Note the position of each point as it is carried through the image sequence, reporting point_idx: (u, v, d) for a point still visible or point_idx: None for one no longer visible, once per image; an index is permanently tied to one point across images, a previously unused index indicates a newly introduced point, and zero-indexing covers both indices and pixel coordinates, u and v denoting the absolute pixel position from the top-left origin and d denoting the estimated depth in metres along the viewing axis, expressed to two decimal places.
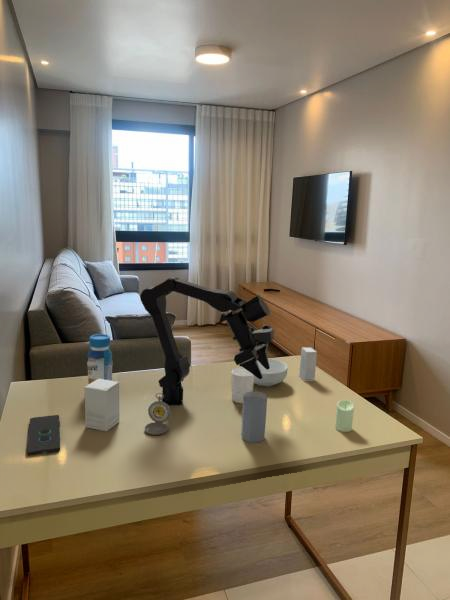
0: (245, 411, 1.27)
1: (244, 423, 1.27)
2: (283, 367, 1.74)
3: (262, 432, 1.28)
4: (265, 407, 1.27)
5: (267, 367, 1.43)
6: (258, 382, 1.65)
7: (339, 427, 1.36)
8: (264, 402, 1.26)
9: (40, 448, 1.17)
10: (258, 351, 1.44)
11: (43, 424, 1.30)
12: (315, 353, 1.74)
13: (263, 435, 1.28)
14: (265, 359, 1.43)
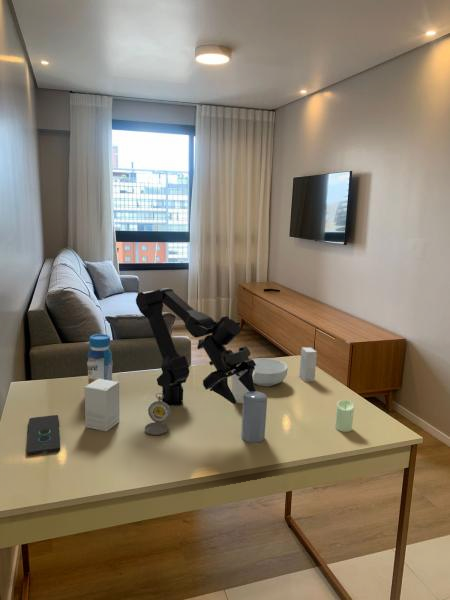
0: (245, 411, 1.27)
1: (244, 423, 1.27)
2: (283, 367, 1.74)
3: (262, 432, 1.28)
4: (265, 407, 1.27)
5: None
6: (258, 382, 1.65)
7: (339, 427, 1.36)
8: (264, 402, 1.26)
9: (40, 448, 1.17)
10: (243, 376, 1.36)
11: (43, 424, 1.30)
12: (315, 353, 1.74)
13: (263, 435, 1.28)
14: (250, 384, 1.34)
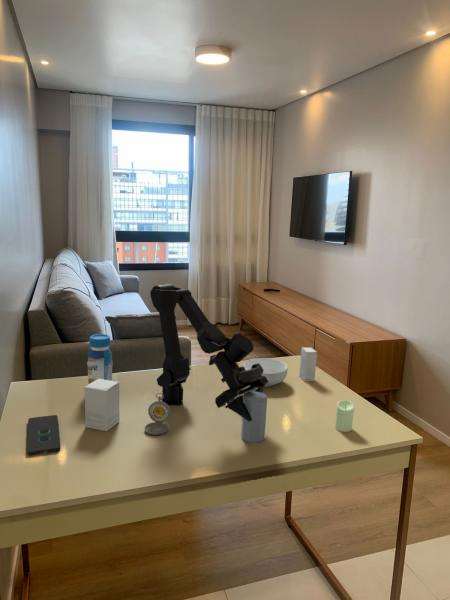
0: None
1: (244, 423, 1.27)
2: (283, 367, 1.74)
3: (262, 432, 1.28)
4: (265, 407, 1.27)
5: None
6: None
7: (339, 427, 1.36)
8: (264, 402, 1.26)
9: (40, 447, 1.17)
10: None
11: (42, 424, 1.30)
12: (315, 353, 1.74)
13: (263, 435, 1.28)
14: None
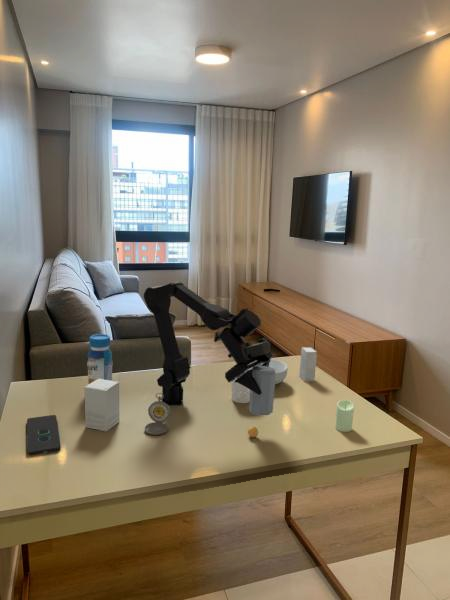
0: None
1: (253, 397, 1.29)
2: (283, 367, 1.74)
3: (271, 405, 1.30)
4: (274, 380, 1.29)
5: None
6: None
7: (339, 427, 1.36)
8: (273, 375, 1.28)
9: (40, 447, 1.17)
10: None
11: (41, 424, 1.29)
12: (315, 353, 1.74)
13: (271, 408, 1.30)
14: None
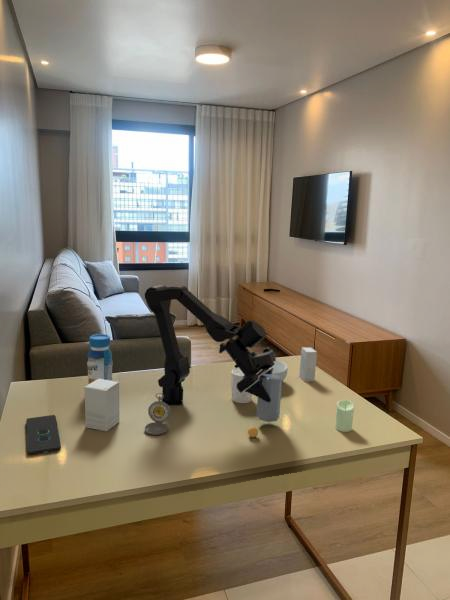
0: None
1: (262, 404, 1.34)
2: (283, 367, 1.74)
3: (278, 411, 1.36)
4: (281, 387, 1.35)
5: None
6: None
7: (339, 427, 1.36)
8: (280, 383, 1.34)
9: (41, 447, 1.17)
10: None
11: (40, 424, 1.29)
12: (315, 353, 1.74)
13: (278, 414, 1.37)
14: None
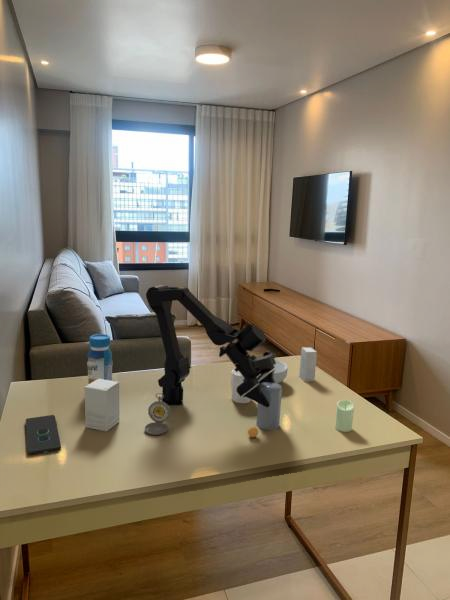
0: None
1: (262, 413, 1.34)
2: (283, 367, 1.74)
3: (278, 419, 1.36)
4: (280, 395, 1.35)
5: None
6: None
7: (339, 427, 1.36)
8: (280, 391, 1.35)
9: (41, 447, 1.17)
10: (265, 379, 1.41)
11: (40, 424, 1.29)
12: (315, 353, 1.74)
13: (278, 422, 1.37)
14: None
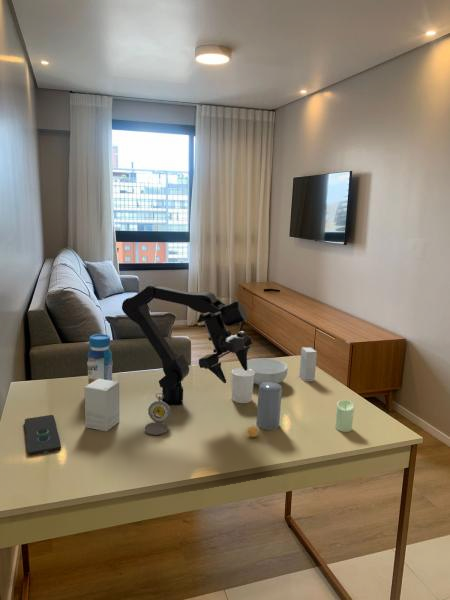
0: (263, 401, 1.34)
1: (262, 413, 1.34)
2: (283, 367, 1.74)
3: (278, 419, 1.36)
4: (280, 395, 1.35)
5: (245, 368, 1.46)
6: (258, 382, 1.65)
7: (339, 427, 1.36)
8: (280, 391, 1.35)
9: (41, 447, 1.17)
10: (239, 351, 1.46)
11: (39, 424, 1.29)
12: (315, 353, 1.74)
13: (278, 422, 1.37)
14: (243, 361, 1.45)
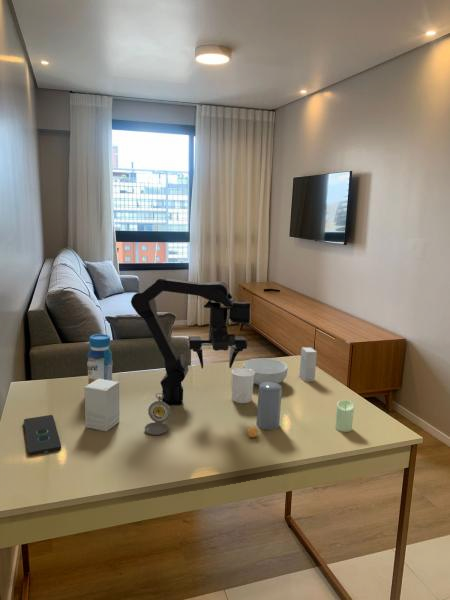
0: (263, 401, 1.34)
1: (262, 413, 1.34)
2: (283, 367, 1.74)
3: (278, 419, 1.36)
4: (280, 395, 1.35)
5: (229, 365, 1.48)
6: (258, 382, 1.65)
7: (339, 427, 1.36)
8: (280, 391, 1.35)
9: (41, 447, 1.17)
10: (232, 348, 1.48)
11: (39, 424, 1.29)
12: (315, 353, 1.74)
13: (278, 422, 1.37)
14: (231, 359, 1.47)
